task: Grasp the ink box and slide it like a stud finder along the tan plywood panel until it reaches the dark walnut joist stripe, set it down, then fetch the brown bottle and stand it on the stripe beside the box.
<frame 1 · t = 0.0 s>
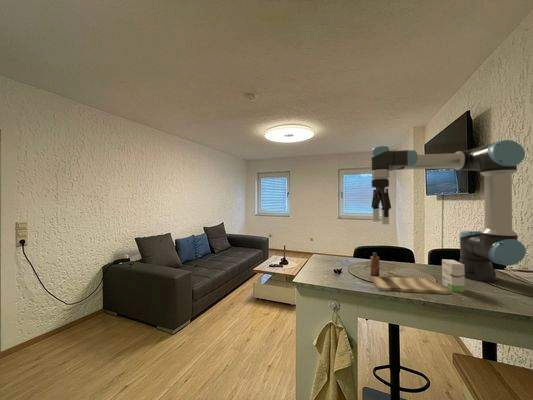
hand: (380, 222, 109), 28 cm above the table, fingers open, 13 cm apart
ink box: (453, 288, 100), on the table
brown bottle: (375, 276, 116), on the table
panel: (406, 285, 103), on the table
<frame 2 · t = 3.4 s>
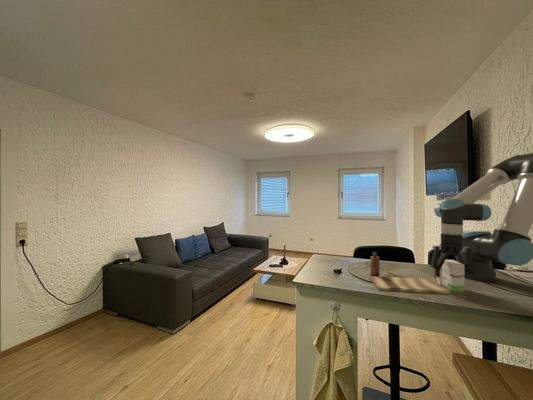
hand: (450, 284, 100), 1 cm above the table, fingers open, 8 cm apart
nothing on the table moved.
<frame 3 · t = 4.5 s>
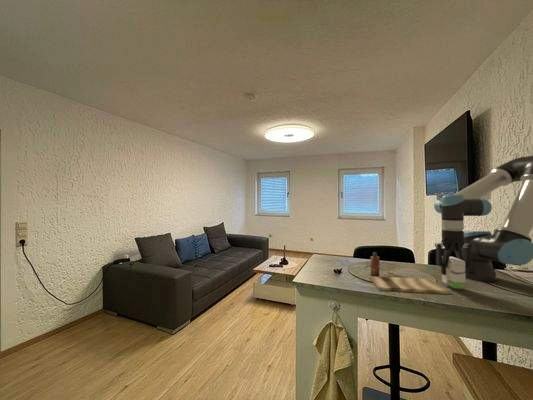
hand: (453, 282, 100), 3 cm above the table, fingers closed on ink box, 5 cm apart
ink box: (453, 285, 100), point 1 cm above the table, touching gripper
everything else where it was.
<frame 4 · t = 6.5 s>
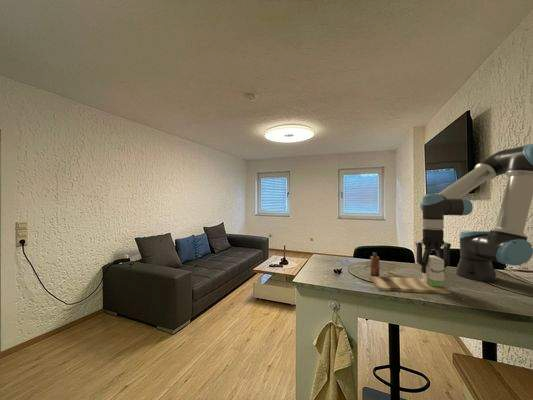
hand: (432, 280, 101), 3 cm above the table, fingers closed on ink box, 5 cm apart
ink box: (432, 283, 101), point 2 cm above the table, touching gripper
everything else where it was.
when the fingers open (3 cm above the table, at t = 8.8 s): ink box stays where it is, resting on panel.
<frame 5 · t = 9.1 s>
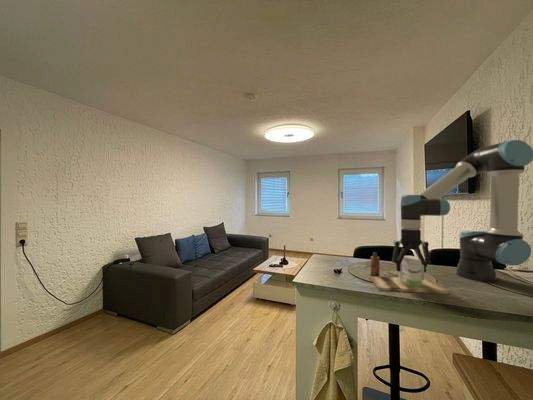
hand: (411, 278, 103), 3 cm above the table, fingers open, 8 cm apart
ink box: (411, 283, 102), point 1 cm above the table, touching panel
everything else where it was.
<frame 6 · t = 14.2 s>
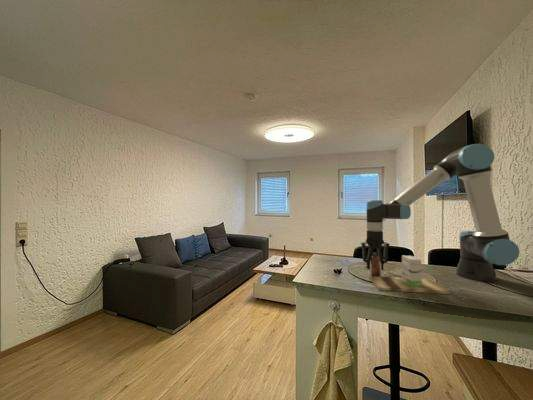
hand: (374, 275, 116), 0 cm above the table, fingers closed on brown bottle, 4 cm apart
brown bottle: (375, 276, 116), on the table, touching gripper
everything else where it was.
when the fingers open (3 cm above the table, at t = 19.1 s): brown bottle stays where it is, resting on panel.
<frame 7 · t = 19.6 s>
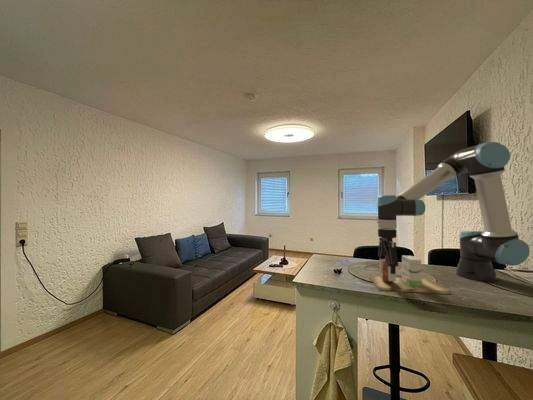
hand: (387, 276, 104), 4 cm above the table, fingers open, 11 cm apart
brown bottle: (387, 282, 104), point 1 cm above the table, touching panel
everything else where it was.
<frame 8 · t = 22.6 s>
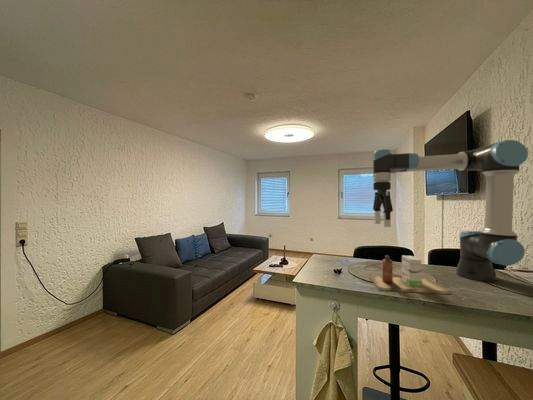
hand: (382, 225, 111), 27 cm above the table, fingers open, 13 cm apart
nothing on the table moved.
at the end: ink box inside the target area (0.1 cm from its centre), point 1.0 cm above the table; brown bottle inside the target area (0.1 cm from its centre), point 1.3 cm above the table; brown bottle tilted 0° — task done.
